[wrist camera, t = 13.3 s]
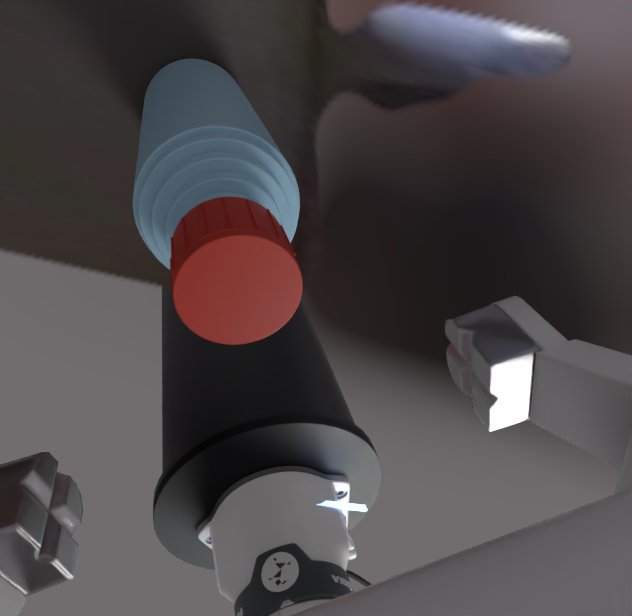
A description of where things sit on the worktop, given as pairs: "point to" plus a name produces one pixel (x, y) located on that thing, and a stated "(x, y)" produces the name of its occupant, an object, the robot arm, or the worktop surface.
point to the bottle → (204, 153)
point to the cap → (233, 271)
